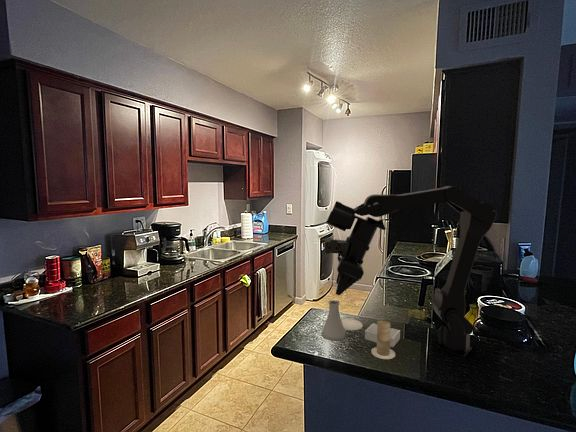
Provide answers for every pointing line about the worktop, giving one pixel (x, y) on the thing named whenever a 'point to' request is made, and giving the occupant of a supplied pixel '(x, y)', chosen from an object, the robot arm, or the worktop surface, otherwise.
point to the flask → (333, 323)
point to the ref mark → (390, 356)
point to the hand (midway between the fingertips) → (337, 288)
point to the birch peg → (383, 338)
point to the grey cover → (372, 334)
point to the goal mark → (351, 324)
